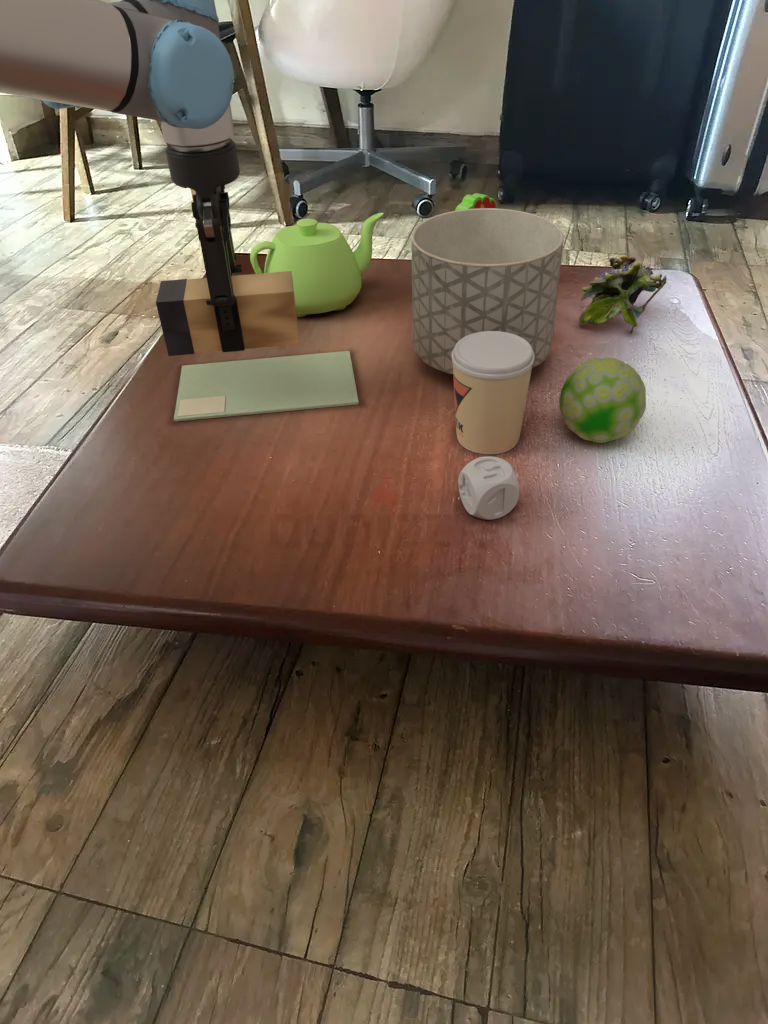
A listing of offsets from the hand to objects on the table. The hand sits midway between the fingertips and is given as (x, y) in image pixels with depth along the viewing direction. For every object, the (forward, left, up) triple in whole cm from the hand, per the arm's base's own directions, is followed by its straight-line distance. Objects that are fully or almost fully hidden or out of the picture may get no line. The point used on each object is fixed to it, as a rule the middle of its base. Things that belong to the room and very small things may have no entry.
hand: (234, 336), depth 99 cm
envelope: (+3, +3, -9) cm, 10 cm away
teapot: (+12, +28, -9) cm, 32 cm away
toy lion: (+35, +26, -9) cm, 44 cm away
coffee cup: (+30, -14, -9) cm, 34 cm away
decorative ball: (+43, -16, -9) cm, 47 cm away
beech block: (0, 0, 0) cm, 0 cm away
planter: (+33, +4, -9) cm, 34 cm away
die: (+27, -27, -9) cm, 39 cm away
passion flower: (+56, +12, -9) cm, 58 cm away
